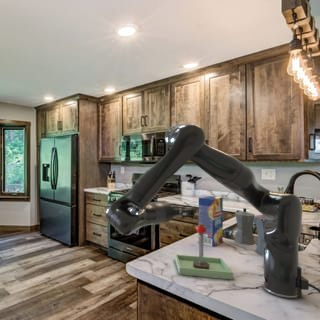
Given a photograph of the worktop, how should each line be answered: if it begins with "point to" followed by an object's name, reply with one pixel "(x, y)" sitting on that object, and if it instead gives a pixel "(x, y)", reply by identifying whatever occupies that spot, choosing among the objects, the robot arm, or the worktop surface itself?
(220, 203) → the juice carton
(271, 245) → the robot arm
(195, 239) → the worktop surface
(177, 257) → the serving tray
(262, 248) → the moka pot
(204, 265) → the red topped grey rod
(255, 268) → the worktop surface
